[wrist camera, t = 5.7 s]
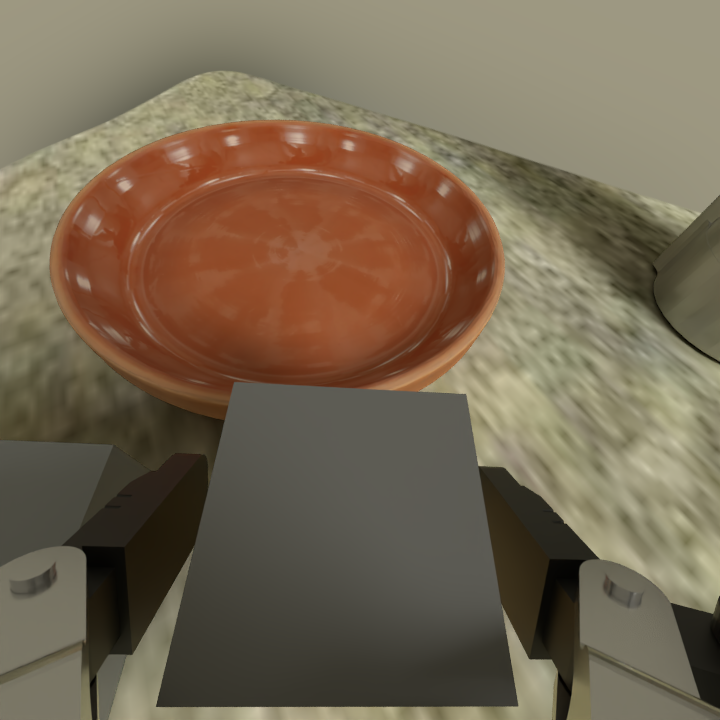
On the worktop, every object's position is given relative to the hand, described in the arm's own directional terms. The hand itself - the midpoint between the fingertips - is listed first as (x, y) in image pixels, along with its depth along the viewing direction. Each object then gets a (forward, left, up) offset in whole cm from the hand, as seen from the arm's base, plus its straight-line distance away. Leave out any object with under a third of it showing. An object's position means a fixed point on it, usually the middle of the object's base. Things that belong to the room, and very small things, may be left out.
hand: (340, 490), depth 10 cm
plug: (+1, 0, -5) cm, 5 cm away
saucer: (-15, -3, -6) cm, 16 cm away
